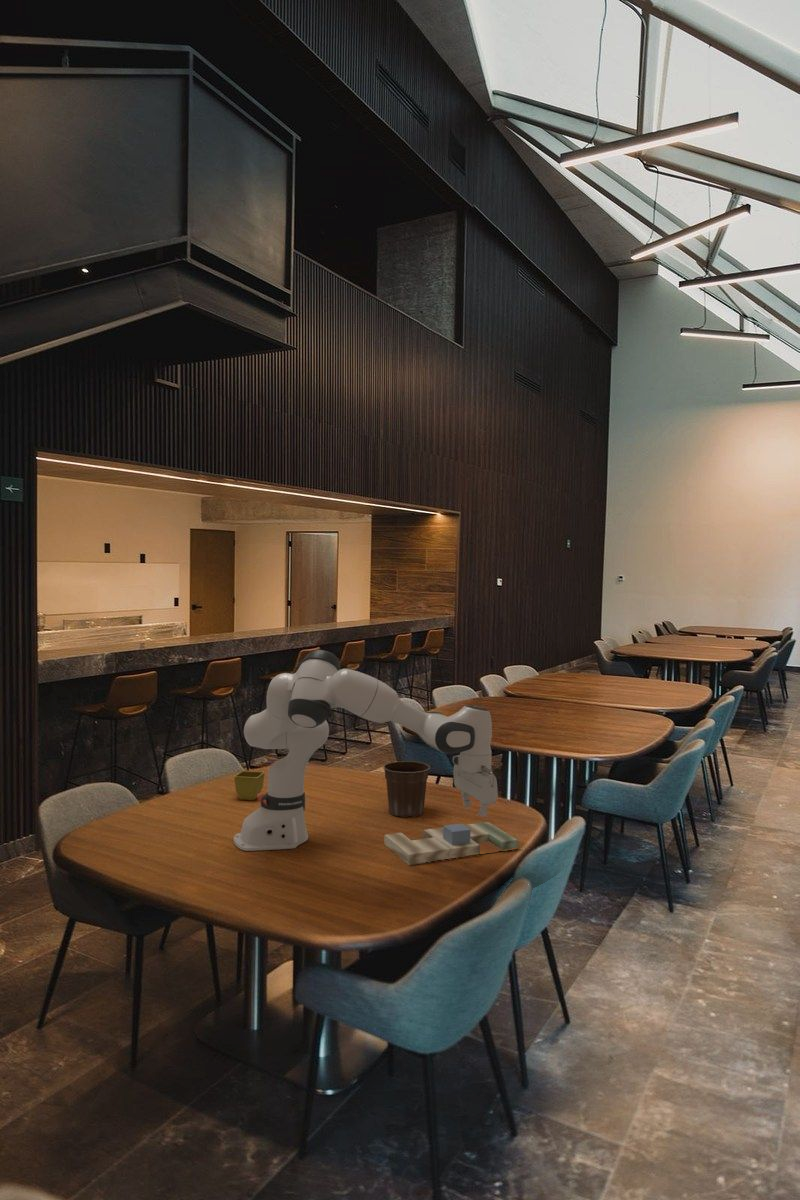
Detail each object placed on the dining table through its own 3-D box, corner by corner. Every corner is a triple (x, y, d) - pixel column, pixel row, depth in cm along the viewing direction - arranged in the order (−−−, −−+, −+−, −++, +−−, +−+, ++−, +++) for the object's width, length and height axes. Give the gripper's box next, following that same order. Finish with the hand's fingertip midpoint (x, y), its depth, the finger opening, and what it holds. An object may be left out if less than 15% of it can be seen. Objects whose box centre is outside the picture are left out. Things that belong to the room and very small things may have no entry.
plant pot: (374, 815, 260) (375, 768, 259) (392, 803, 275) (393, 758, 274) (419, 822, 254) (420, 774, 253) (435, 809, 269) (436, 763, 268)
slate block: (452, 845, 223) (452, 831, 223) (443, 838, 229) (443, 825, 229) (470, 843, 226) (470, 829, 226) (460, 836, 231) (461, 823, 231)
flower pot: (241, 794, 281) (242, 770, 281) (264, 795, 280) (265, 771, 280) (233, 801, 273) (233, 776, 272) (256, 802, 272) (257, 777, 271)
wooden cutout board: (408, 865, 215) (408, 854, 215) (384, 844, 232) (384, 834, 232) (517, 849, 230) (517, 839, 229) (487, 831, 246) (487, 821, 246)
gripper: (503, 770, 207) (502, 820, 207) (469, 754, 226) (468, 800, 226) (483, 771, 205) (482, 823, 205) (449, 755, 223) (449, 802, 224)
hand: (474, 811), depth 216 cm, fingers open, 8 cm apart
